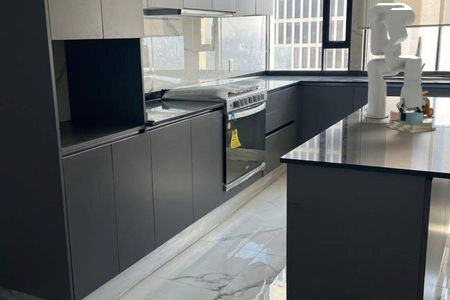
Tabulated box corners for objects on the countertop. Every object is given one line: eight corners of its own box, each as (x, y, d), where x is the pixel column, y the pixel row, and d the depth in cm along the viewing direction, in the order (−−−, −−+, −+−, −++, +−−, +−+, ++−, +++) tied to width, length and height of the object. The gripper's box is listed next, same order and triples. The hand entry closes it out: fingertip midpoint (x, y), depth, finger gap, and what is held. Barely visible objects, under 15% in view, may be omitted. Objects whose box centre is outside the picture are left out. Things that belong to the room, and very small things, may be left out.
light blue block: (398, 124, 242) (398, 111, 241) (404, 123, 244) (405, 110, 242) (416, 128, 231) (416, 114, 230) (422, 127, 233) (423, 113, 231)
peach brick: (390, 122, 254) (390, 111, 253) (397, 121, 256) (398, 110, 255) (396, 124, 250) (396, 112, 249) (403, 123, 252) (404, 111, 250)
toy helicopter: (434, 116, 268) (436, 90, 265) (409, 120, 257) (410, 94, 254) (422, 114, 275) (423, 89, 272) (396, 118, 264) (397, 93, 261)
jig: (385, 127, 243) (386, 119, 242) (408, 124, 248) (408, 116, 247) (412, 133, 227) (412, 125, 226) (435, 129, 232) (436, 122, 231)
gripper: (420, 81, 239) (419, 117, 243) (392, 84, 233) (390, 120, 237) (432, 82, 232) (430, 119, 236) (403, 85, 226) (401, 123, 230)
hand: (410, 119), depth 237 cm, fingers open, 8 cm apart
